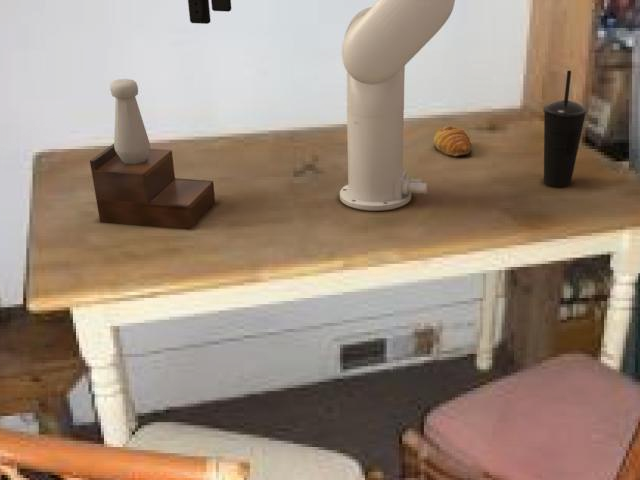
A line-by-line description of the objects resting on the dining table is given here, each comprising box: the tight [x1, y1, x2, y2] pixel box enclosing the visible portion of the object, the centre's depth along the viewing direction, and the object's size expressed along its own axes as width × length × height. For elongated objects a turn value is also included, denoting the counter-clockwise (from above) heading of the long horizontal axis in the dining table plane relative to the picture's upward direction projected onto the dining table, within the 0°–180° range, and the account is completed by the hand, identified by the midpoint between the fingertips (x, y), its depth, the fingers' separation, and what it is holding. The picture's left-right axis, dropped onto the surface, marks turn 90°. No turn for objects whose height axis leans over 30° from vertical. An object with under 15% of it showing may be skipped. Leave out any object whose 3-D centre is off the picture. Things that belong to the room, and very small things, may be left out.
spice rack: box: [89, 143, 216, 230], centre depth 156 cm, size 16×12×11 cm
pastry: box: [433, 125, 472, 157], centre depth 184 cm, size 9×7×4 cm
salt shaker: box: [109, 78, 151, 164], centre depth 151 cm, size 6×6×13 cm
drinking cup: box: [542, 70, 588, 188], centre depth 165 cm, size 8×8×20 cm
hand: (211, 16), depth 149 cm, fingers open, 9 cm apart
